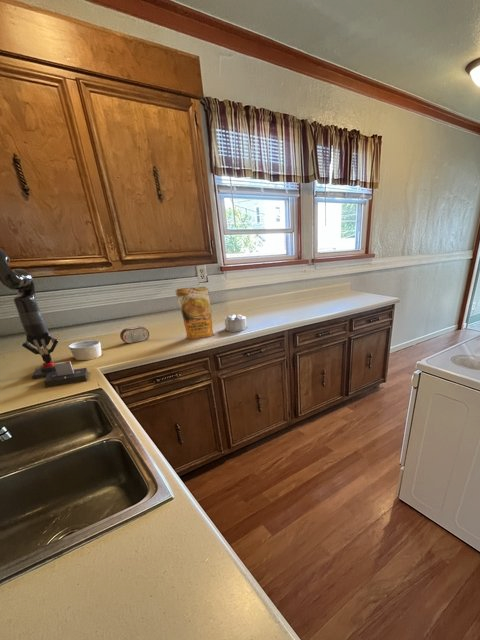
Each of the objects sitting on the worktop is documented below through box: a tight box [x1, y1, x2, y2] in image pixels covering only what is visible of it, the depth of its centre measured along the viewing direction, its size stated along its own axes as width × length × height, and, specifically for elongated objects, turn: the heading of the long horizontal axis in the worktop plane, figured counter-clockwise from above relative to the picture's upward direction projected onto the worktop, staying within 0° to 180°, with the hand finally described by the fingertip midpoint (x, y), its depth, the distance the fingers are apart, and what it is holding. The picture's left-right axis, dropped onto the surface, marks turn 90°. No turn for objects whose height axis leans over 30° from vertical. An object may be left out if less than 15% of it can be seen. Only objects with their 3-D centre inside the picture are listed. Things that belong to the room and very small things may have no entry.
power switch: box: [31, 364, 56, 380], centre depth 141 cm, size 12×9×4 cm
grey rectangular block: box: [53, 360, 74, 376], centre depth 133 cm, size 6×2×5 cm, turn 118°
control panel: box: [43, 367, 89, 389], centre depth 135 cm, size 14×10×3 cm
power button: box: [42, 360, 55, 368], centre depth 140 cm, size 4×4×2 cm
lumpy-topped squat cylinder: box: [224, 313, 247, 333], centre depth 208 cm, size 10×13×9 cm
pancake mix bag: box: [175, 286, 215, 340], centre depth 188 cm, size 7×19×28 cm, turn 122°
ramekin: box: [68, 339, 102, 361], centre depth 160 cm, size 13×13×7 cm
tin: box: [119, 325, 150, 344], centre depth 183 cm, size 15×3×8 cm, turn 134°
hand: (48, 362), depth 140 cm, fingers closed
